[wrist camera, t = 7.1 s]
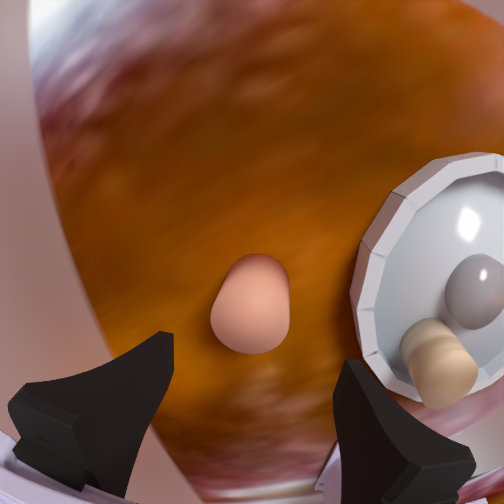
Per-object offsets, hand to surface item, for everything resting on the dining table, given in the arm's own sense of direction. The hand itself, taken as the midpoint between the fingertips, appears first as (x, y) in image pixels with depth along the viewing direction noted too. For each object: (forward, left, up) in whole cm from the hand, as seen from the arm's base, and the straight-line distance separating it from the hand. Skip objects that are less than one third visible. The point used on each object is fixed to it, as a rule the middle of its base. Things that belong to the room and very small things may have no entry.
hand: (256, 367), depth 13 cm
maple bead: (-2, -12, -8) cm, 14 cm away
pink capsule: (0, +1, -9) cm, 9 cm away
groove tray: (+2, -14, -9) cm, 17 cm away
